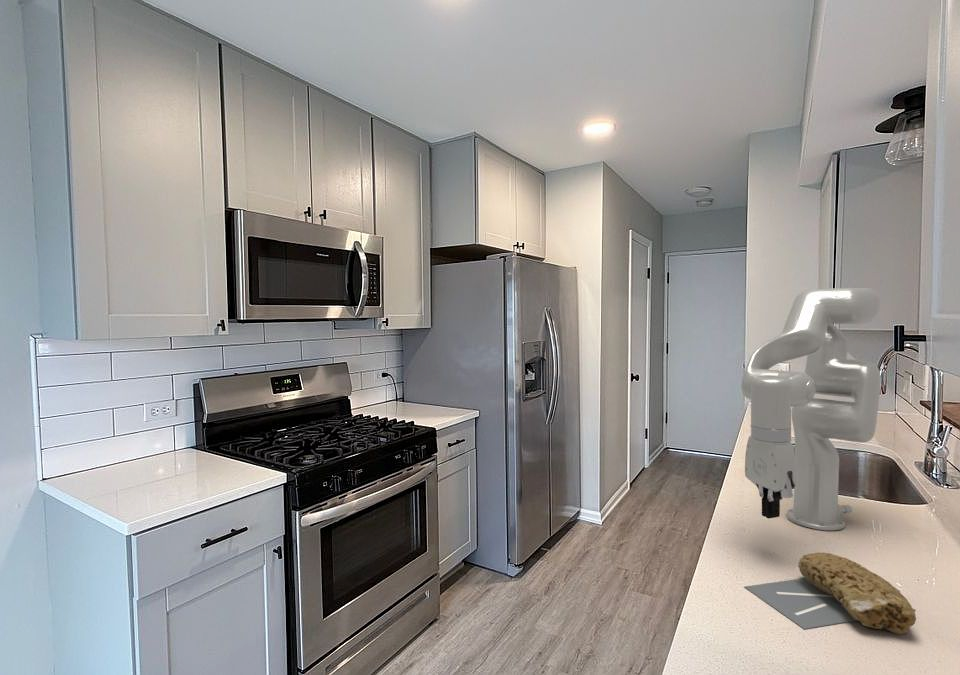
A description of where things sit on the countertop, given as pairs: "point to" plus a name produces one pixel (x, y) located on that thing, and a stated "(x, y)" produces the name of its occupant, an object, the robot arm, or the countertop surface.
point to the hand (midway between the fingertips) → (770, 516)
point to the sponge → (859, 591)
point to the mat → (802, 603)
